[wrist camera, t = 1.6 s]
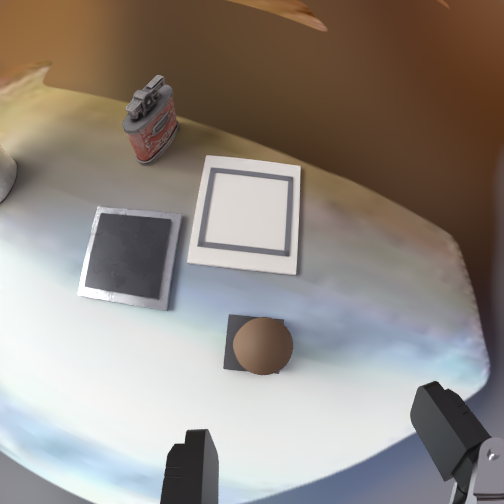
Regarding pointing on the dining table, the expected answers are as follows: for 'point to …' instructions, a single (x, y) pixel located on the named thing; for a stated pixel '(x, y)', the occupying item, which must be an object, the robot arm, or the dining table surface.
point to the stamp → (257, 345)
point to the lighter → (151, 121)
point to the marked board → (247, 216)
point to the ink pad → (131, 257)
